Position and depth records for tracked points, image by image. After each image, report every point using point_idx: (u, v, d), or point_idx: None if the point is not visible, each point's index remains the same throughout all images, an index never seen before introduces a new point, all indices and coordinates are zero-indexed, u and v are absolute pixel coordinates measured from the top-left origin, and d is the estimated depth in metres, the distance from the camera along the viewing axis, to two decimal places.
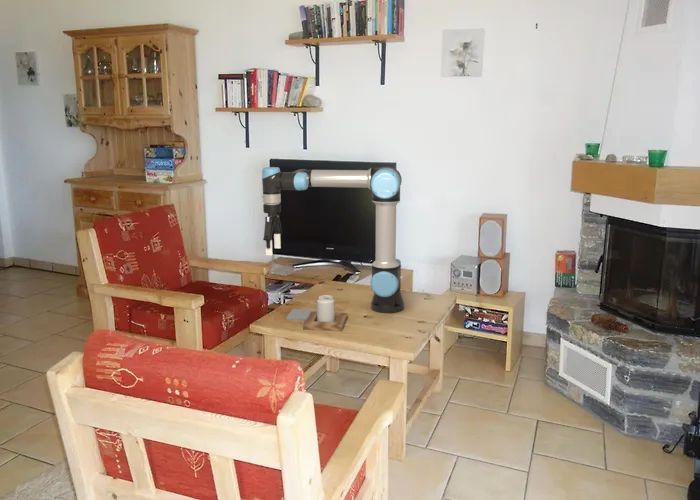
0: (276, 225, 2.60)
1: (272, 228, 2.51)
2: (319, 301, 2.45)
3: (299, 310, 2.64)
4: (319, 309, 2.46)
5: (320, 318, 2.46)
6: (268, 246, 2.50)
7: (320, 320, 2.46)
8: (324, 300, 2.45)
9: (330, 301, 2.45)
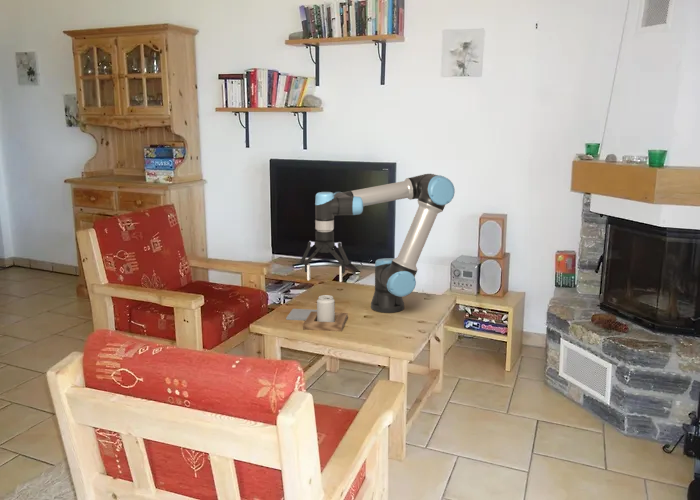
0: None
1: (312, 254, 2.43)
2: (319, 301, 2.45)
3: (299, 310, 2.64)
4: (319, 309, 2.46)
5: (320, 318, 2.46)
6: None
7: (320, 320, 2.46)
8: (324, 300, 2.45)
9: (330, 301, 2.45)
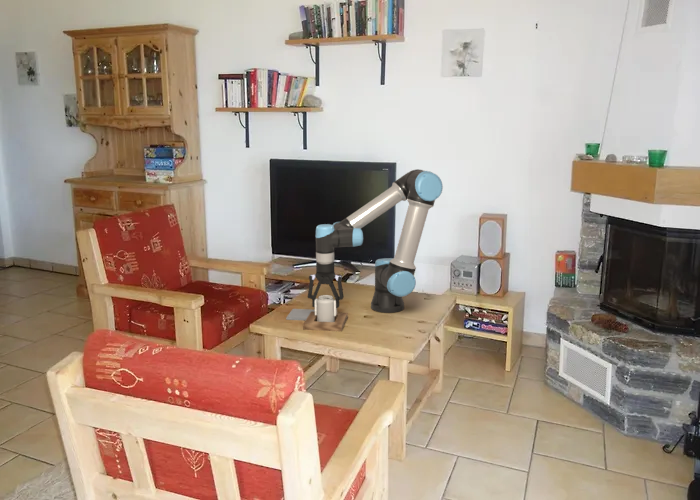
0: None
1: (316, 287, 2.46)
2: (319, 301, 2.45)
3: (299, 310, 2.64)
4: (319, 309, 2.46)
5: (320, 318, 2.46)
6: None
7: (320, 320, 2.46)
8: (324, 300, 2.45)
9: (330, 301, 2.45)
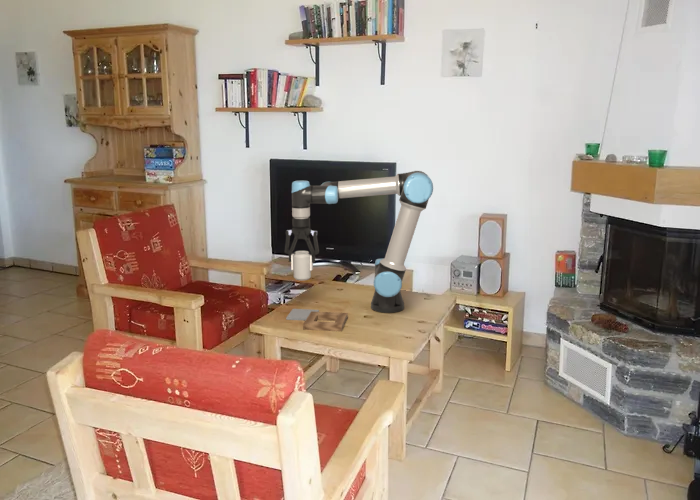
0: None
1: (293, 242, 2.52)
2: (295, 256, 2.52)
3: (299, 310, 2.64)
4: (295, 263, 2.52)
5: (296, 272, 2.53)
6: None
7: (296, 274, 2.53)
8: (300, 254, 2.51)
9: (306, 256, 2.51)
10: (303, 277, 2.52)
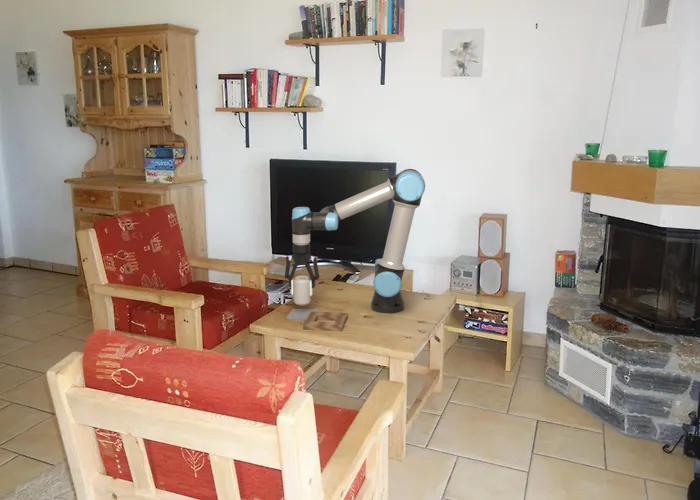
0: None
1: (293, 268, 2.55)
2: (295, 281, 2.55)
3: (299, 310, 2.64)
4: (295, 289, 2.55)
5: (296, 297, 2.55)
6: None
7: (296, 299, 2.56)
8: (300, 280, 2.54)
9: (306, 281, 2.54)
10: (303, 302, 2.55)
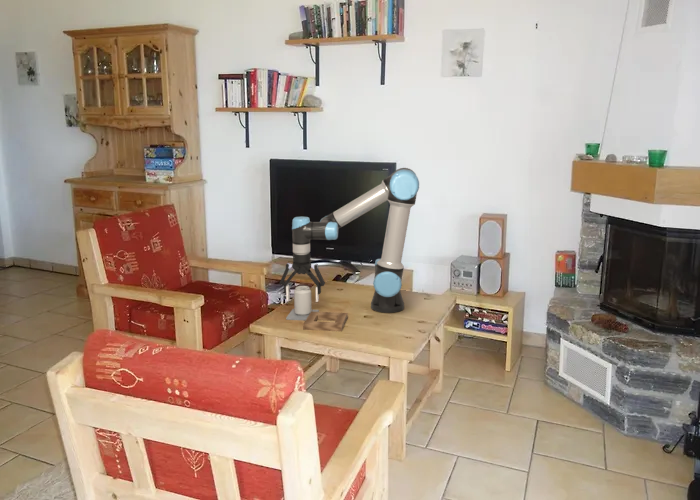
0: None
1: (291, 275, 2.56)
2: (296, 291, 2.56)
3: None
4: (296, 299, 2.56)
5: (297, 308, 2.56)
6: None
7: (297, 310, 2.57)
8: (301, 290, 2.55)
9: (306, 291, 2.55)
10: (304, 312, 2.56)
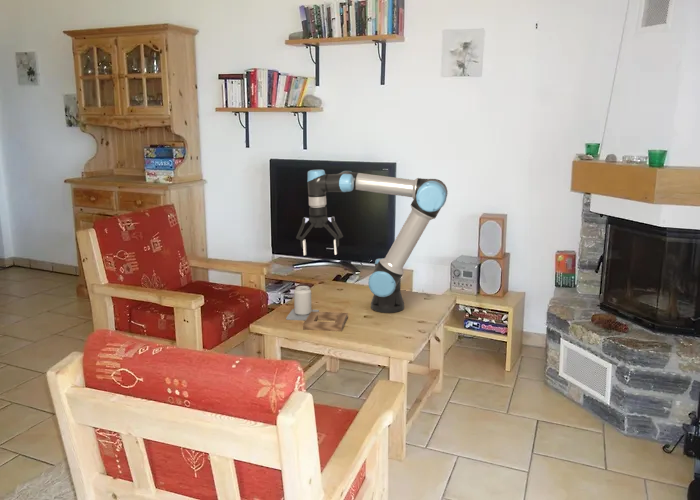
0: None
1: (307, 229, 2.55)
2: (296, 291, 2.56)
3: None
4: (296, 299, 2.56)
5: (297, 308, 2.56)
6: None
7: (297, 310, 2.57)
8: (301, 290, 2.55)
9: (306, 291, 2.55)
10: (304, 312, 2.56)
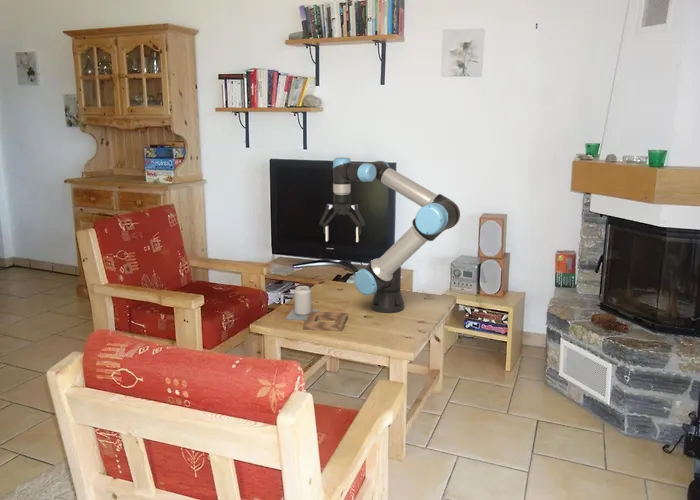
0: None
1: (330, 216, 2.59)
2: (296, 291, 2.56)
3: None
4: (296, 299, 2.56)
5: (297, 308, 2.56)
6: None
7: (297, 310, 2.57)
8: (301, 290, 2.55)
9: (306, 291, 2.55)
10: (304, 312, 2.56)
